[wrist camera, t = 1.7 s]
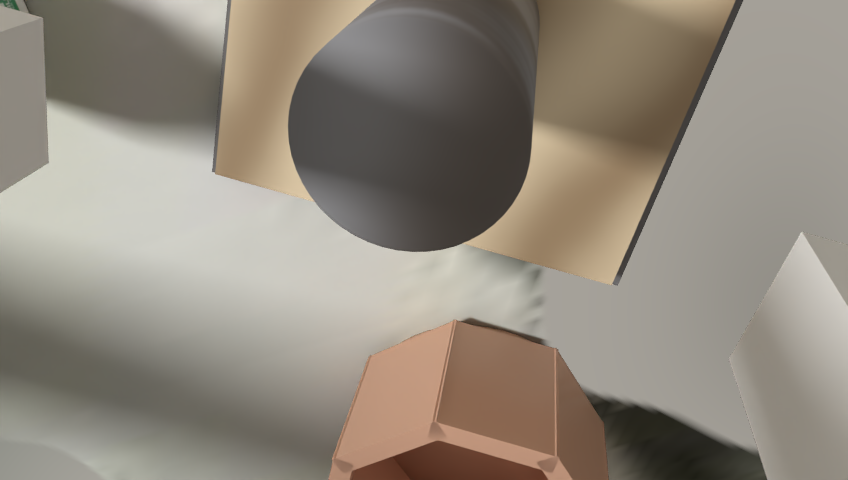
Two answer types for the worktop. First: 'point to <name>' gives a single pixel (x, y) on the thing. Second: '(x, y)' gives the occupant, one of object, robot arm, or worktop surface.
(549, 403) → the terracotta bowl
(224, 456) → the worktop surface
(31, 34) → the robot arm
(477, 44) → the oak lid
